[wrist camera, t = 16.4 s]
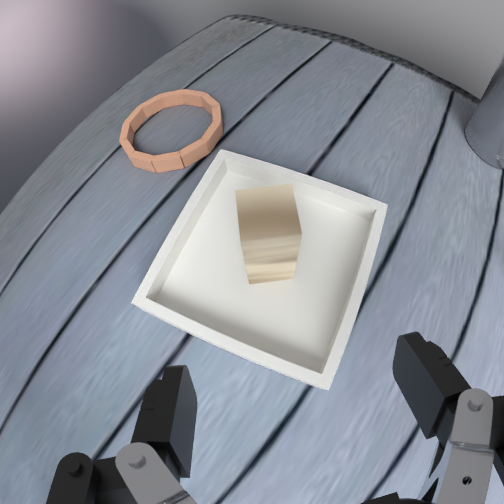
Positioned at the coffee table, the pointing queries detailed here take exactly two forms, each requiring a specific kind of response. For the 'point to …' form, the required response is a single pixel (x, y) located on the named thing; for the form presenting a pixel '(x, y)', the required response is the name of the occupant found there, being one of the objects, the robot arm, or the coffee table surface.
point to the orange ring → (186, 154)
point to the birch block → (269, 232)
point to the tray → (268, 293)
